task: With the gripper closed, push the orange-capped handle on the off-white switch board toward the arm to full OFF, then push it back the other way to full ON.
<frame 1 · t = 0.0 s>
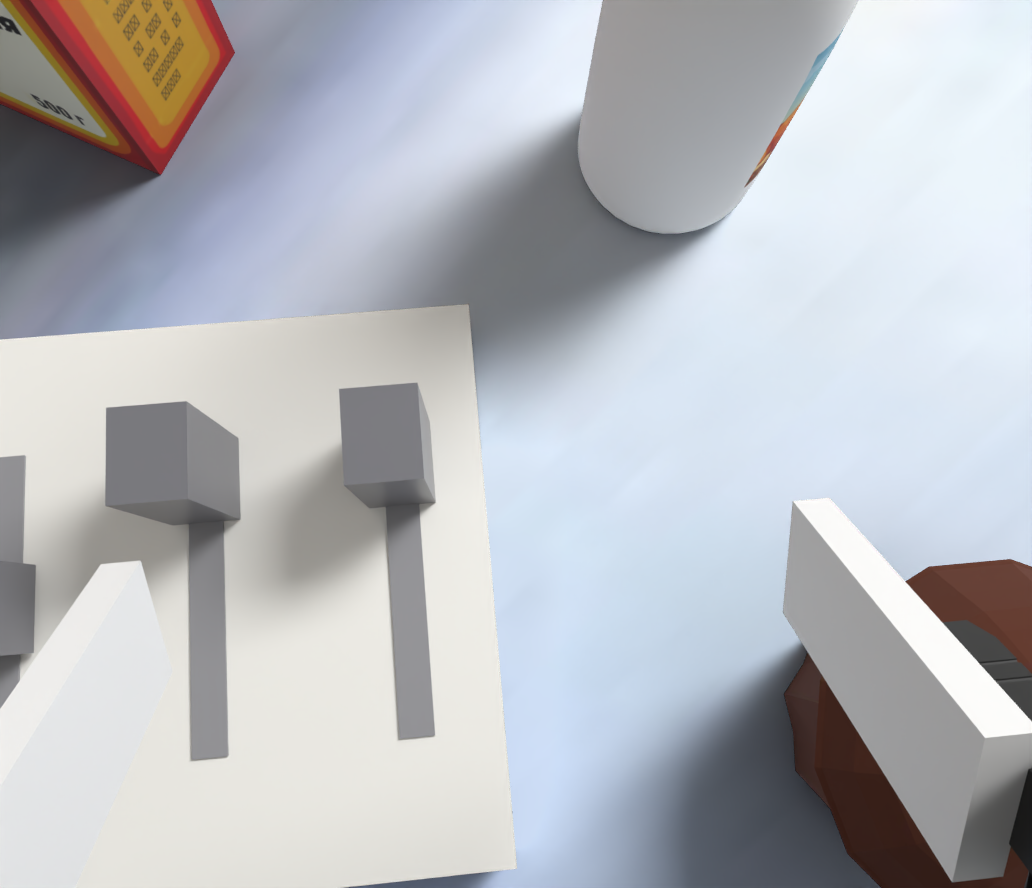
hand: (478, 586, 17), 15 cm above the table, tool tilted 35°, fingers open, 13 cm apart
white slider panel: (229, 595, 32), on the table
muffin: (898, 719, 32), on the table
milk bottle: (663, 160, 36), on the table
baking soda box: (103, 73, 36), on the table
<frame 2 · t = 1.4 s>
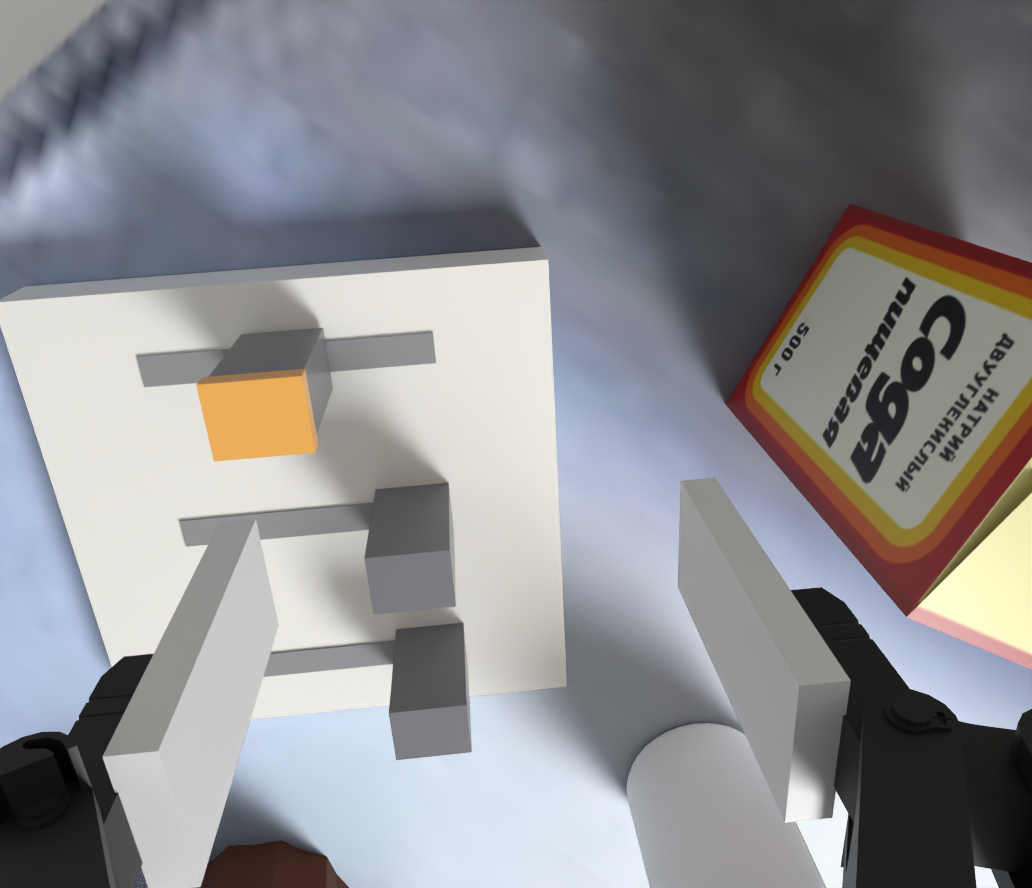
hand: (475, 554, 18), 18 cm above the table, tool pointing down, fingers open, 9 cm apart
white slider panel: (326, 492, 37), on the table
milk bottle: (692, 769, 45), on the table
baking soda box: (844, 339, 36), on the table
tripped breaker: (273, 388, 29), point 6 cm above the table, slide at 0.0 cm
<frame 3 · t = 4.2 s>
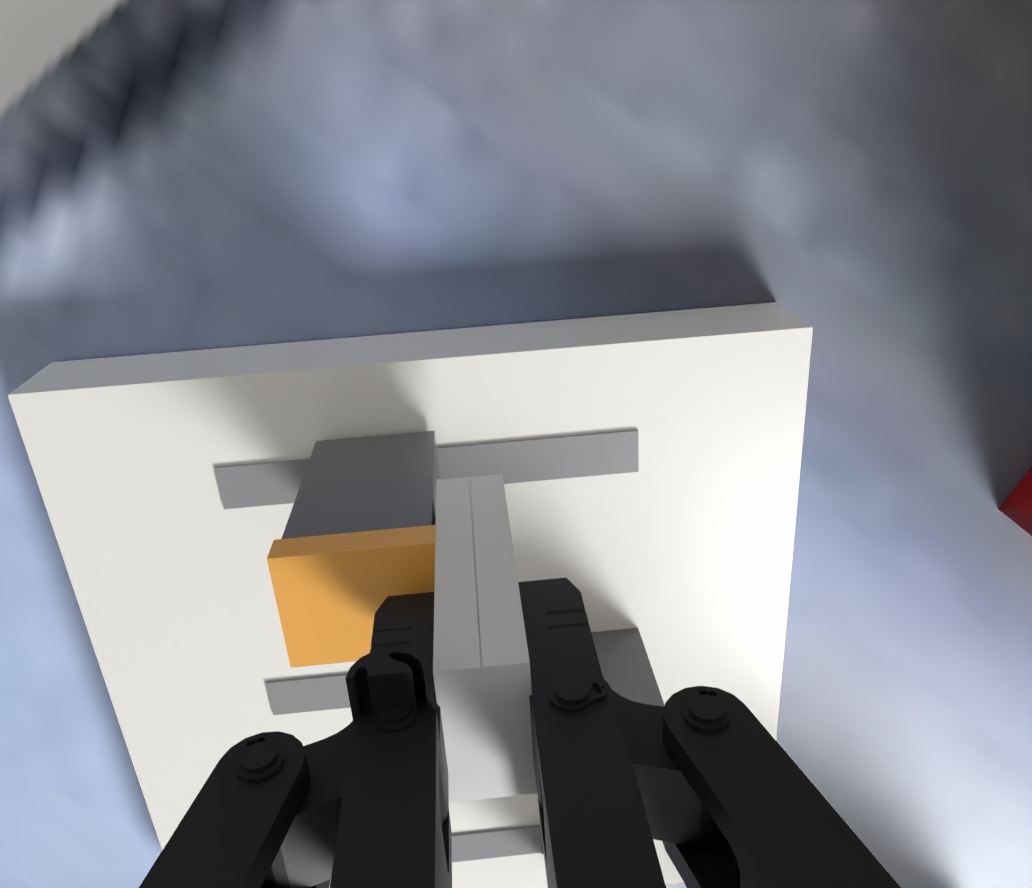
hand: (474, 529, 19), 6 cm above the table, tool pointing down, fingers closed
white slider panel: (455, 627, 27), on the table
tripped breaker: (372, 533, 19), point 6 cm above the table, slide at -1.3 cm, touching gripper
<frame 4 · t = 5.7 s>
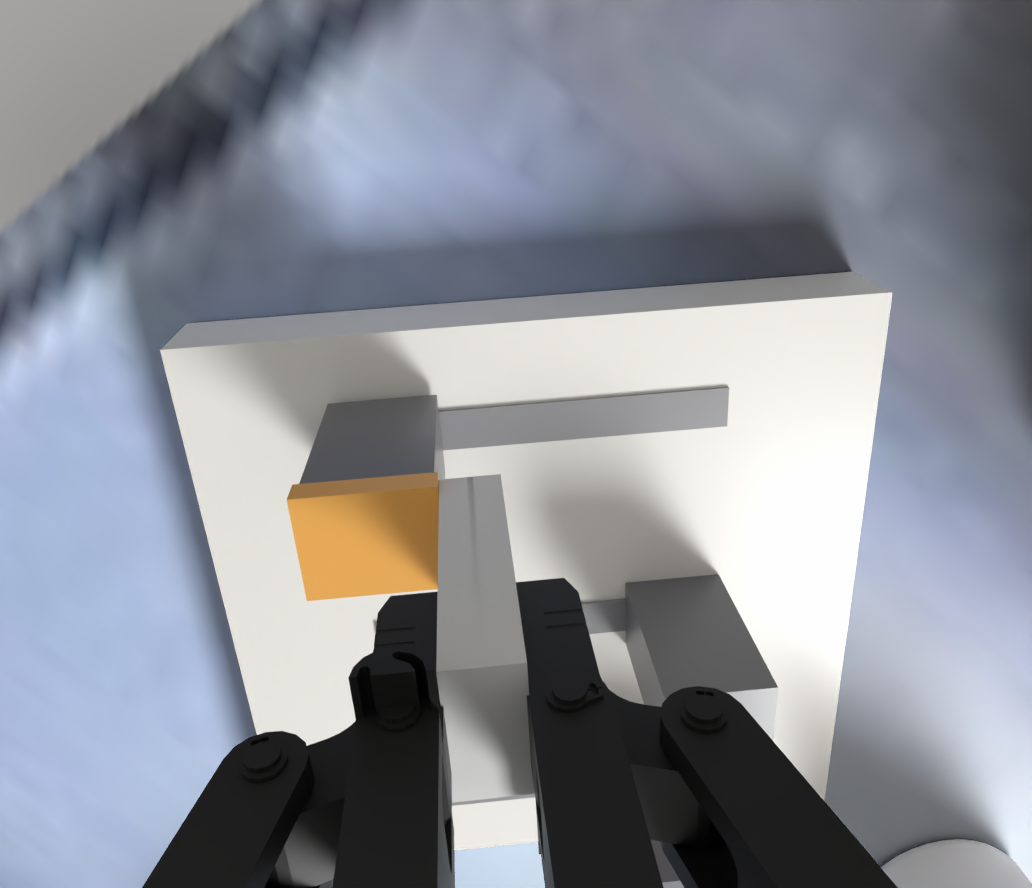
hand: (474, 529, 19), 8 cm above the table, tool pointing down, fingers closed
white slider panel: (540, 577, 29), on the table
tripped breaker: (380, 485, 21), point 6 cm above the table, slide at -4.3 cm, touching gripper
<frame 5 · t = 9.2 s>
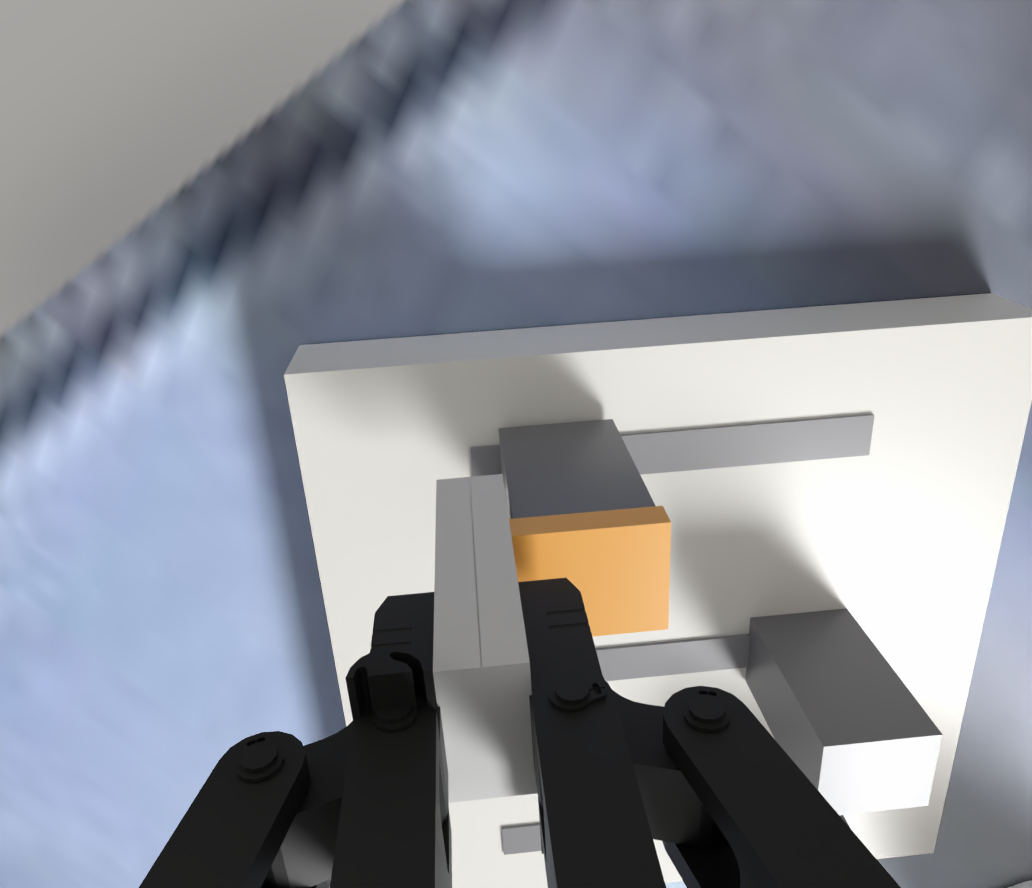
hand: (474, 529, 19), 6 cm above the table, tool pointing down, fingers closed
white slider panel: (649, 609, 28), on the table
tripped breaker: (572, 516, 20), point 6 cm above the table, slide at -3.2 cm, touching gripper
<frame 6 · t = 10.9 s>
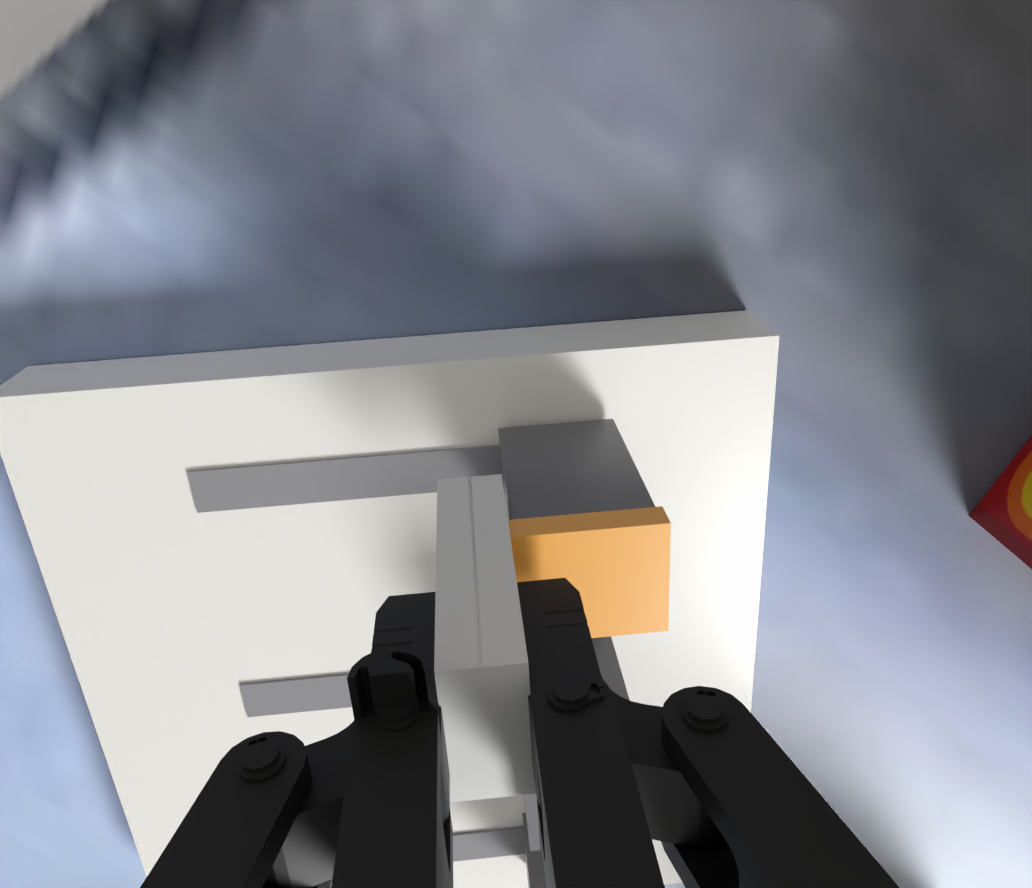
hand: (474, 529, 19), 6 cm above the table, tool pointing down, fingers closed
white slider panel: (430, 630, 27), on the table
tripped breaker: (572, 517, 19), point 6 cm above the table, slide at 4.1 cm, touching gripper
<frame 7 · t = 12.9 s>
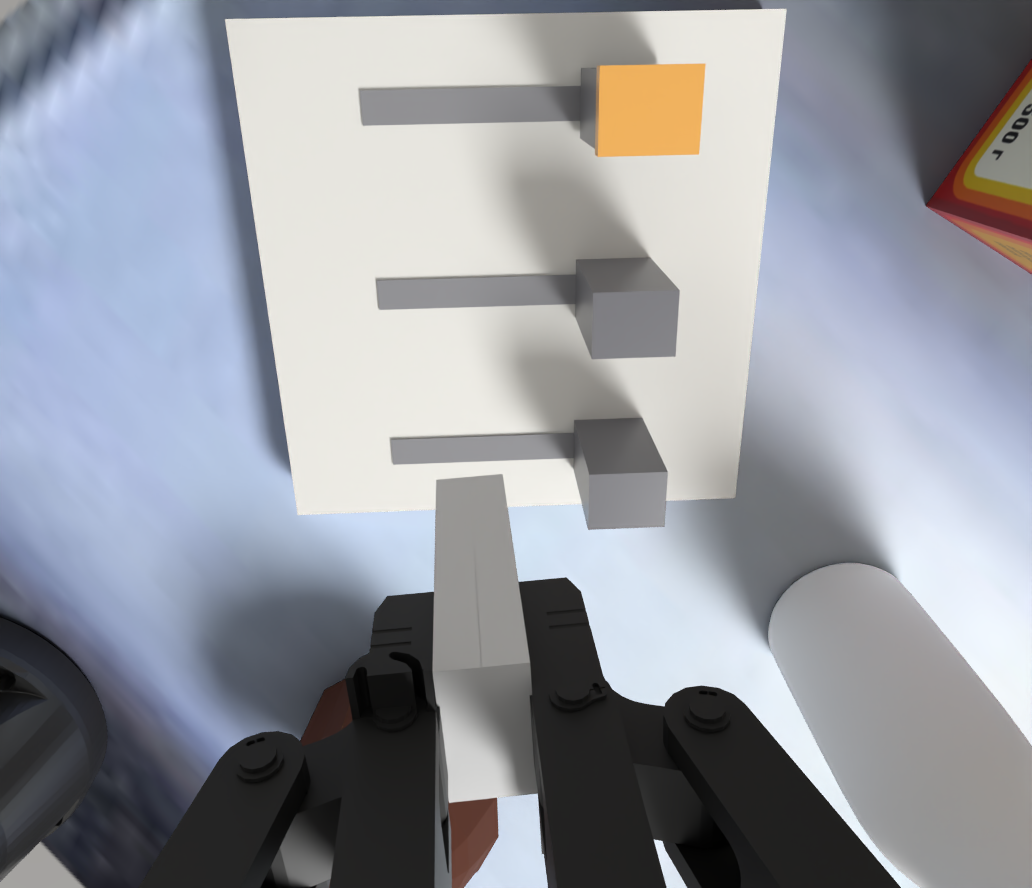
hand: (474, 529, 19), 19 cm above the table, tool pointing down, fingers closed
white slider panel: (511, 276, 36), on the table
muffin: (395, 722, 46), on the table
milk bottle: (833, 616, 45), on the table
tripped breaker: (634, 106, 28), point 6 cm above the table, slide at 4.1 cm
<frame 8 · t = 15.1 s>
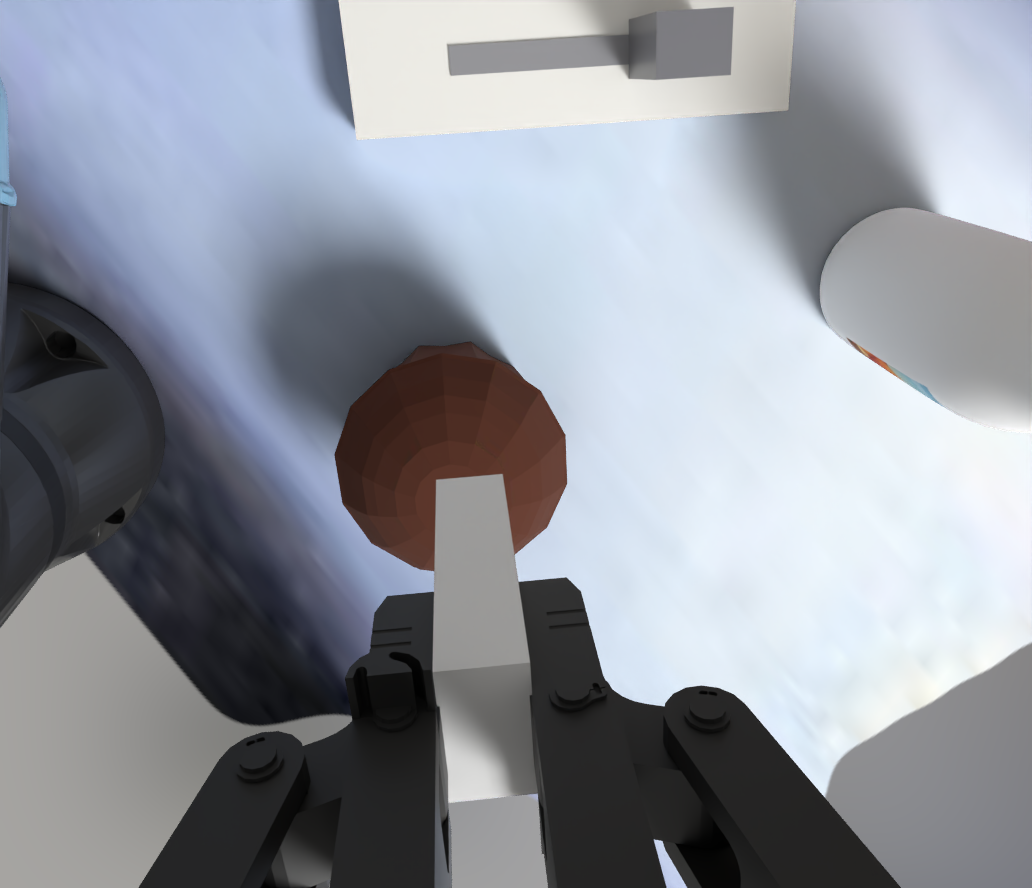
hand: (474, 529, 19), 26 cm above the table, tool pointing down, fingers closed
muffin: (452, 416, 47), on the table
milk bottle: (882, 277, 45), on the table
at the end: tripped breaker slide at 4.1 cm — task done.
